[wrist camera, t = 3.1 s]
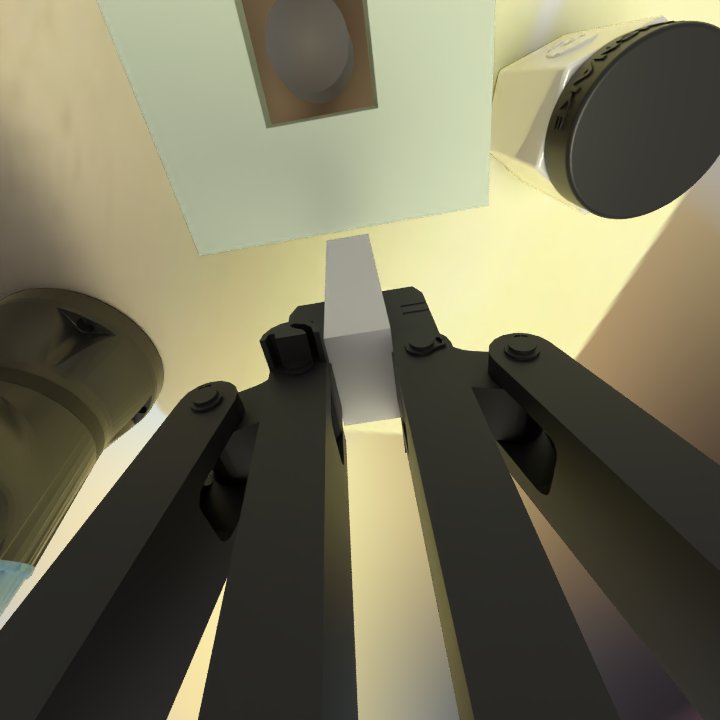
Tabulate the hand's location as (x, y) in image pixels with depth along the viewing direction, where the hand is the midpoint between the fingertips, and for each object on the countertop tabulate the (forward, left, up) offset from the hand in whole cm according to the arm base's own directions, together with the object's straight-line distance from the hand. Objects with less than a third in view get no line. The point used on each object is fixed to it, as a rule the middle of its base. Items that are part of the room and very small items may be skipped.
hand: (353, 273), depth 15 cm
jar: (+15, +2, -19) cm, 24 cm away
